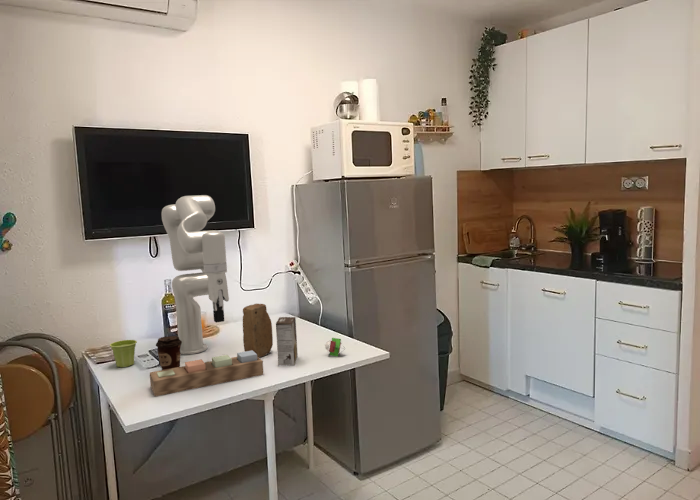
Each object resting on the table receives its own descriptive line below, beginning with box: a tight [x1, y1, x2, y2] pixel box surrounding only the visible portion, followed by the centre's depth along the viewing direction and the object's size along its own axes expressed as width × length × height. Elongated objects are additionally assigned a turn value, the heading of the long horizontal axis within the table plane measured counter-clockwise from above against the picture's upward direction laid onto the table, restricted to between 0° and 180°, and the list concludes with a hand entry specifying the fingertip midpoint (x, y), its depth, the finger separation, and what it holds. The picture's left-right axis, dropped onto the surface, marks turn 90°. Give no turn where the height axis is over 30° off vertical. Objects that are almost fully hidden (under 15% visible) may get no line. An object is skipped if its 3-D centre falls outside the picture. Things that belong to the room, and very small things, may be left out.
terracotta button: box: [184, 359, 206, 373], centre depth 177 cm, size 6×6×4 cm
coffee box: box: [275, 316, 299, 367], centre depth 196 cm, size 9×6×16 cm
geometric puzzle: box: [324, 337, 346, 357], centre depth 202 cm, size 7×7×8 cm
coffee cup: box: [155, 335, 182, 370], centre depth 188 cm, size 9×8×13 cm
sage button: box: [211, 354, 232, 368], centre depth 182 cm, size 6×6×4 cm
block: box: [242, 303, 274, 358], centre depth 206 cm, size 11×8×20 cm
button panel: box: [149, 356, 264, 397], centre depth 180 cm, size 36×10×5 cm, turn 118°
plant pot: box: [109, 339, 137, 368], centre depth 200 cm, size 9×9×9 cm
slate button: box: [236, 350, 257, 363], centre depth 186 cm, size 6×6×4 cm
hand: (219, 321), depth 180 cm, fingers closed
